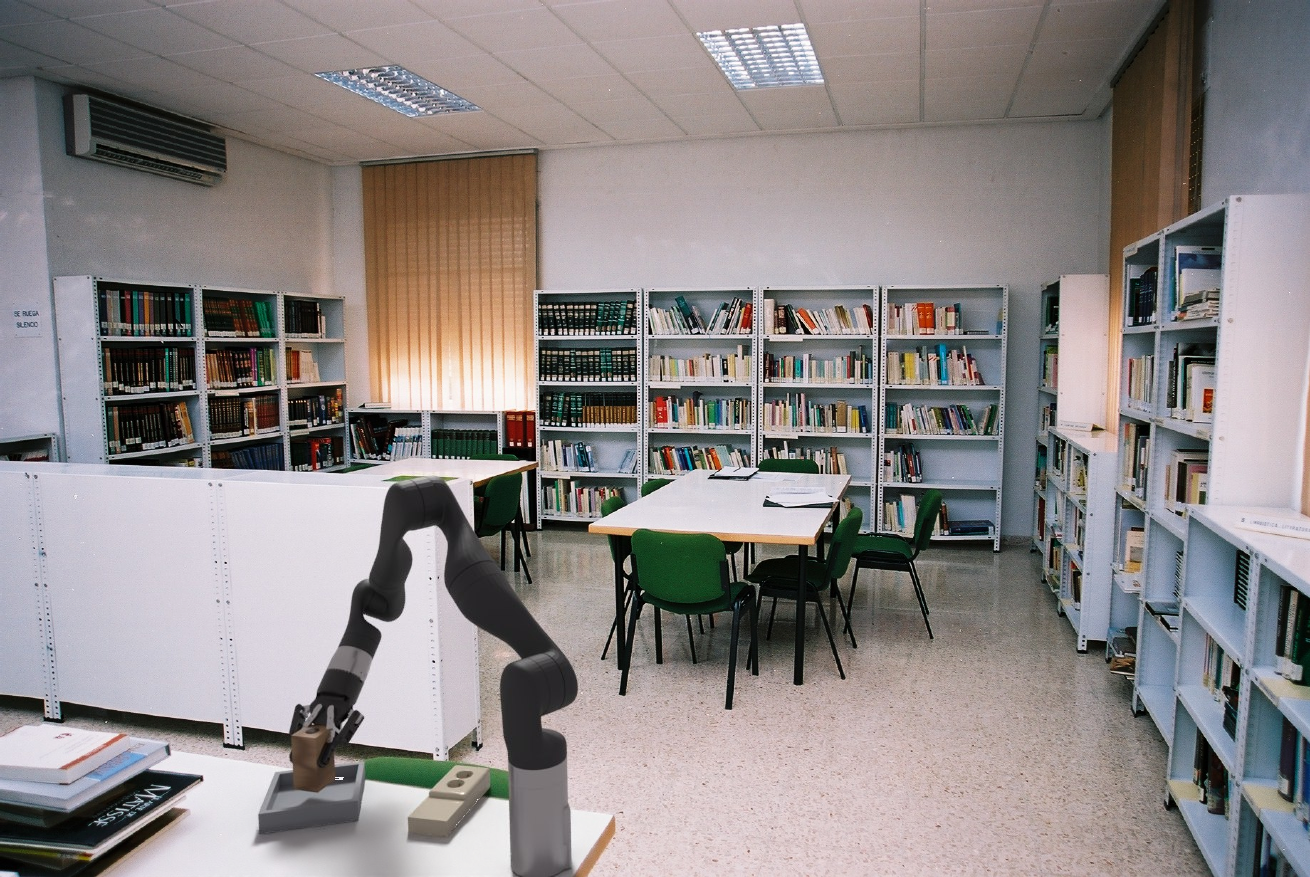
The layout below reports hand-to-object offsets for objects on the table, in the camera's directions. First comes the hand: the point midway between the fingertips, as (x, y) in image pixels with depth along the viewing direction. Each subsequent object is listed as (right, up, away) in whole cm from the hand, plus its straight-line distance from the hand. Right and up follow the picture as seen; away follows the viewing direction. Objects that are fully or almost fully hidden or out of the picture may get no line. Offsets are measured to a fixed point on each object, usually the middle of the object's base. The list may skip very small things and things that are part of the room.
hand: (307, 764), depth 150 cm
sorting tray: (+1, -8, +2) cm, 9 cm away
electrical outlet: (+26, -9, 0) cm, 27 cm away
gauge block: (0, -5, +2) cm, 5 cm away
